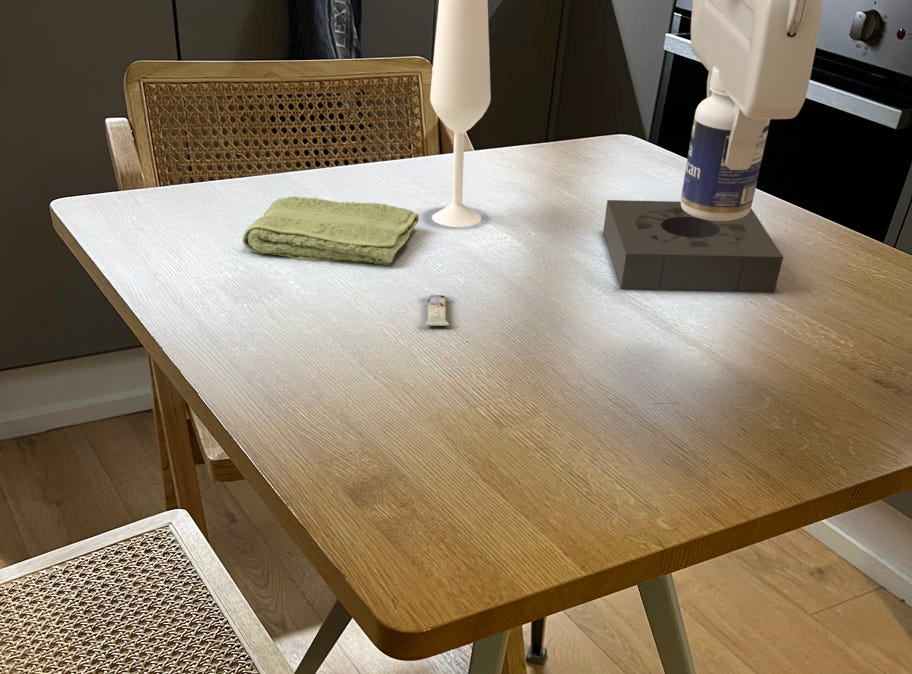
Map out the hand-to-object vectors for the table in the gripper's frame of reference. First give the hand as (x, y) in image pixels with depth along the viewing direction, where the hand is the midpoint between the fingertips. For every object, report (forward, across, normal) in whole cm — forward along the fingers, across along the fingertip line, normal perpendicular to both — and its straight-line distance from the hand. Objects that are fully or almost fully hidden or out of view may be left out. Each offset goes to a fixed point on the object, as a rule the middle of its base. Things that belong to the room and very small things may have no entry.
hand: (725, 152), depth 72 cm
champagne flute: (+19, +41, +20) cm, 49 cm away
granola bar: (+19, +14, +22) cm, 32 cm away
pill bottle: (+4, 0, 0) cm, 4 cm away
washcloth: (+19, +33, +34) cm, 51 cm away
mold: (+20, +28, -6) cm, 35 cm away
